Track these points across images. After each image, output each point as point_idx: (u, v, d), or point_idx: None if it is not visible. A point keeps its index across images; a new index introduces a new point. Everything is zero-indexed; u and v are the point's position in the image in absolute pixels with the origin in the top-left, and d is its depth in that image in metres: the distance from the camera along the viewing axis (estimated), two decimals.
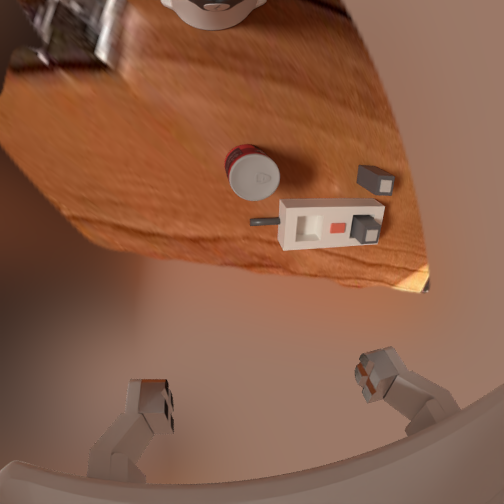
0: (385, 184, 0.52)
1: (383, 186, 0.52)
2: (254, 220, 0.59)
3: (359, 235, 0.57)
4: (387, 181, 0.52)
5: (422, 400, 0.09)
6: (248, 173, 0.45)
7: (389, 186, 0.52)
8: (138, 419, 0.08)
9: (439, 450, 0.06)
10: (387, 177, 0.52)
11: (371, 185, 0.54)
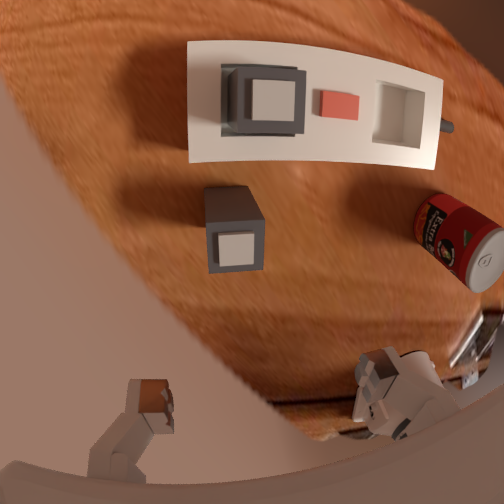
0: (240, 255, 0.21)
1: (246, 249, 0.21)
2: (447, 131, 0.26)
3: None
4: (235, 262, 0.21)
5: (422, 400, 0.09)
6: (492, 266, 0.24)
7: (225, 251, 0.20)
8: (138, 419, 0.08)
9: (439, 450, 0.06)
10: (233, 268, 0.22)
11: None
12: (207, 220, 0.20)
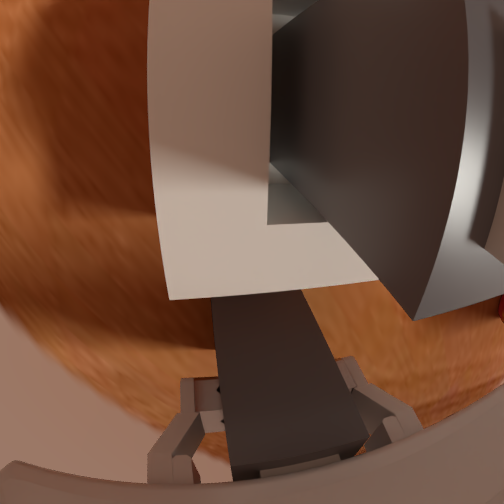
0: None
1: None
2: None
3: None
4: None
5: (382, 416, 0.09)
6: None
7: None
8: (196, 418, 0.09)
9: (439, 450, 0.06)
10: None
11: None
12: (233, 452, 0.07)
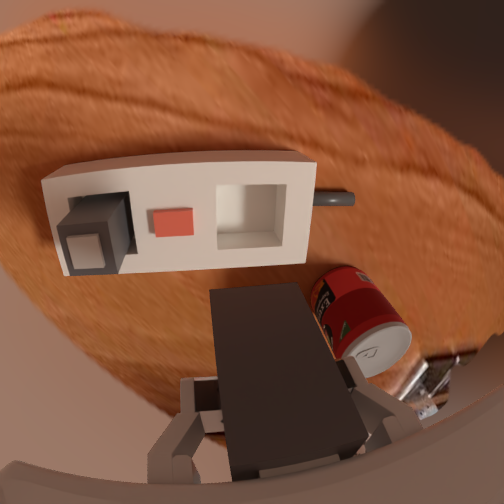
0: None
1: None
2: (346, 205, 0.29)
3: (115, 231, 0.19)
4: None
5: (381, 416, 0.09)
6: (383, 355, 0.27)
7: None
8: (196, 418, 0.09)
9: (439, 450, 0.06)
10: None
11: None
12: (232, 452, 0.07)
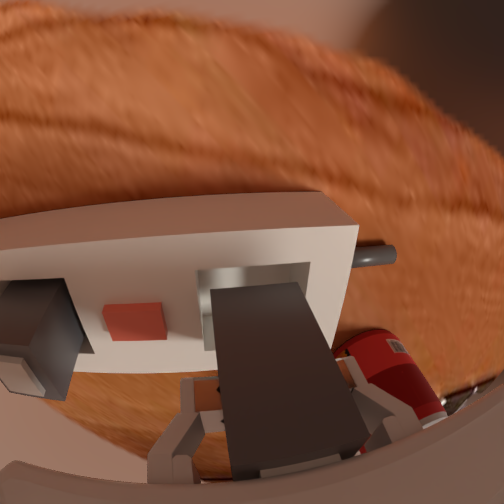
0: None
1: None
2: (384, 264, 0.20)
3: (50, 345, 0.11)
4: None
5: (382, 416, 0.09)
6: None
7: None
8: (196, 418, 0.09)
9: (439, 450, 0.06)
10: None
11: None
12: (233, 451, 0.07)
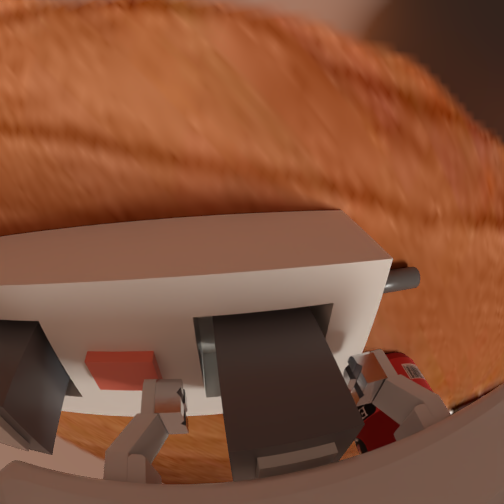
0: None
1: None
2: (405, 288, 0.17)
3: (29, 399, 0.08)
4: None
5: (411, 404, 0.09)
6: None
7: None
8: (154, 419, 0.08)
9: (439, 450, 0.06)
10: None
11: None
12: (231, 438, 0.07)
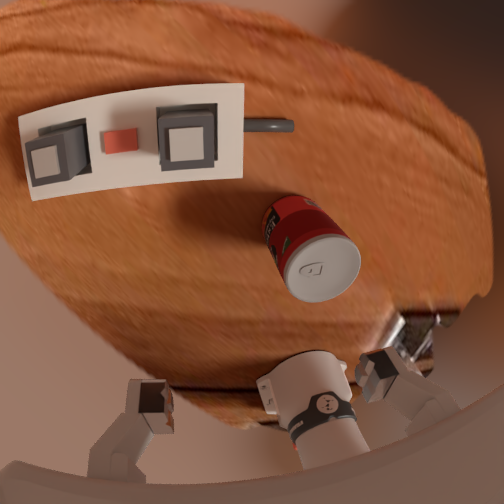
0: (190, 150, 0.20)
1: (196, 143, 0.20)
2: (286, 131, 0.30)
3: (71, 146, 0.20)
4: (186, 157, 0.20)
5: (422, 400, 0.09)
6: (332, 275, 0.29)
7: (176, 145, 0.20)
8: (138, 419, 0.08)
9: (439, 450, 0.06)
10: (184, 165, 0.21)
11: None
12: (160, 118, 0.19)
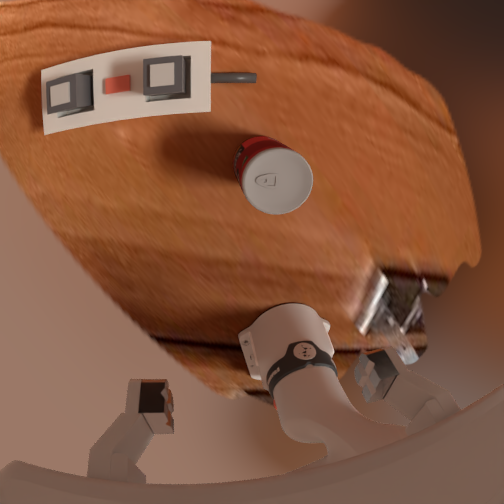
0: (164, 78, 0.25)
1: (168, 73, 0.24)
2: (250, 81, 0.34)
3: (80, 85, 0.25)
4: (161, 83, 0.25)
5: (422, 400, 0.09)
6: (287, 187, 0.32)
7: (154, 75, 0.24)
8: (138, 419, 0.08)
9: (439, 450, 0.06)
10: (160, 90, 0.26)
11: (183, 69, 0.26)
12: None
